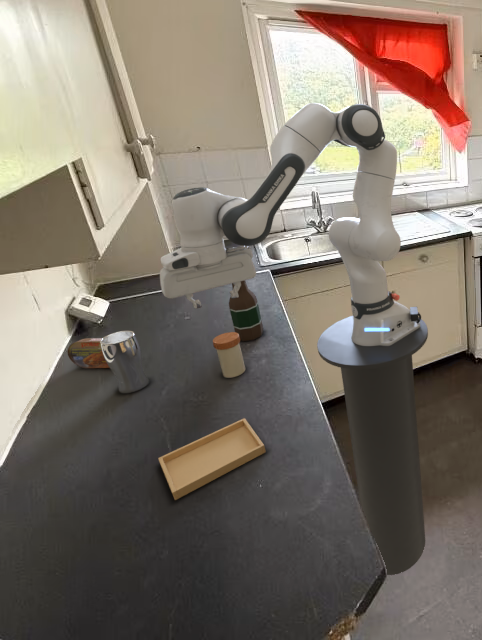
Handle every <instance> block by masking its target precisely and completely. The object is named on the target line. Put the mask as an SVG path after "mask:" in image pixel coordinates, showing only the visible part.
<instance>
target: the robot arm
mask: <svg viewBox="0 0 482 640" xmlns="http://www.w3.org/2000/svg"><path fill="white" fill-rule="evenodd" d="M332 142H335V143H338V144H340V145H341V146H345V147H348V148H356V150H357V152H358V161H359V162H358V164H357V169H356V170H357V171H356V176H355V179H354V180H355V181H354V186H353V191H352V199H353V201H354V203H355V205H356V206H357V209H358V214H359V215H358V216H359V218H357V217H339V218H338V219H336V220H334V221H333V222H332V223H331V225H330V227H329V229H328V238H329V241H330V243H331V244H332V245H333V247H334V248H335V249H336V250H337V252H338V254H339V256H340V258H341V260H342V262H343V264H344V268H345V269H346V273H347V276H348V280H349V287H350V295H351V296H350V307H351V313H352V316H353V318H354V320H353V332H352V337H351V339H352V341H353V342H354V343H356V344H358V345H361V346H378V345H381V346H390V345H392V344H394V343H395V342H397V341H399V340H400V339H402V338H403V337H405V336H407V335H408V334H410V333H412V332H413V331H415V330H416V329H418V328H419V327H420V320H421V319H422V315H421V313H420V312H419V311H418V306H410V307H409V308H408V307H407V306H406V305H404V304H402V303H400V302H398V301H399V300H400V298H401V297H400V295H399V294H397V293H393V292H391V291H389V287H388V278H387V271H386V270H385V268H384V267H383V266H382V265H381V263H380V262H389V261H392V260H393V259H394V258H395V257H397V255H398V254H399V252H400V249H401V247H402V245H401V244H402V241H401V237H400V235H399V233H398V232H397V230H396V228H395V226H394V222H393V217H392V198H393V193H394V187H395V180H396V176H397V167H398V149H397V147H396V146H395V145H394V143H392V142H391V141H389V140H387V139H386V134H385V131H384V127H383V123H382V119H381V117H380V115H379V113H378V112H377V111H376V110H375V109H374V108H373V107H371V106H369V105H367V104H363V103H355V104H351V105H349V106H346V107H344V108H342V109H341V110H339V111H336V112H335V111H331V110H330V109H329V108H328V107H327V106H325V105H324V104H321V103H318V102H309V103H307V104H305V105H304V106H303V107H301V108H300V109H299V110H297V111H296V112H295V113H294V114H293V115H292V116H291V117H290V118H289V119H288V120H287V121H286V122H285V124H284V125H282V127H280V129H279V130H278V132H277V133H276V134H275V136H274V138H273V140H272V142H271V144H270V146H269V152H270V156H271V166H270V169H269V171H268V173H267V175H266V176H265V178H264V179H263V180H262V182H261V183H260V184H259V186H258V187H257V188H256V189H255V191H254V192H253V194H252V195H251V196H250V197H249V198H248V199H247V198H244V197H240V196H234V195H233V196H232V195H226V194H223V193H219V192H216V191H213V190H212V189H209V188H207V187H204V186H203V187H202V186H200V187H193V188H188V189H184V190H181V191H179V192H177V193H176V194H175V195H174V196H173V197H172V200H171V210H172V216H173V221H174V226H175V229H176V230H177V232H178V234H179V237H180V240H179V245H180V248H177V249H175V250H173V251H171V252H169V253H166V254H164V255H163V256H161V257H160V259H159V260H160V264H161V266H162V268H161V269H160V270H159V284H160V289H161V293H162V295H163V296H164V297H165V298H167V299H169V300H172V299H176V298H181V297H185V298H186V299H187V300H188V301H189V302H191V304H192V307H193V309H194V310H197V309H201V308H203V307H202V302H201V300H200V299H198V298H197V299H194V294H195V293H199V292H200V293H201V292H204V291H207V290H212V289H216V288H220V287H224V286H228V285H232V283H233V284H234V285H235V286H234V288H232V290H229V294H230V297H231V298H232V299H234V298H237V297H239V295H238V291H239V289H240V286H241V282H240V281H244V280H245V281H247V280H251V279H255V277H256V276H257V270H256V267H255V264H254V261H253V257H254V255H253V250H252V249H251V247H252V246H255V245H259V244H260V243H262V242H263V241H264V240H266V238H268V236H269V235H270V233H271V230H272V226H273V222H274V218H275V216H276V214H277V212H278V210H280V208H281V206H282V205H283V204H284V202H285V201H286V200H287V198H288V197H289V195H290V194H291V192H292V191H293V189H294V188H295V187H296V185H297V183H298V182H299V181H300V179H301V178H302V177H303V175H305V173H306V171H307V170H308V169H309V168H310V167H311V166H312V165H313V163H315V162H316V160H317V159H318V158H319V157H320V156H321V154H322V153H323V152H324V150H325V148H326V147H328V145H329V144H330V143H332ZM224 237H225V238H226V239H227V240H228V241H230V242H231V243H233V244H235V245H237V246H235V247H228V248H226V245H225V241H224ZM418 317H419V319H418Z"/></svg>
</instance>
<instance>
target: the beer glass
mask: <svg viewBox="0 0 482 640" xmlns="http://www.w3.org/2000/svg"><path fill="white" fill-rule="evenodd" d="M101 338H102V339H101V340H100V344H101V348H102V352H103V355H104V358H105V360H106V362H107V364H108V366H109V367H110V368H109V369H110V371H111V372H112V373H113V374H114V376H115V378H116V379H117V386H118V391H119V393H121V394H131V393H135V392H138V391H140V390H142V389H144V388H145V387H147V386H148V385H149V384H150V380H149V378H148V376H147V375H146V374H145V371H144V368H143V366H144V365H143V355H142V349H141V345H140V343H139V341H138V338H137V336H136V334H135V331H133V330H121V331H116V332H112V333H110V334H108V335H105V336H103V337H101Z"/></svg>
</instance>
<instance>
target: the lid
mask: <svg viewBox="0 0 482 640" xmlns="http://www.w3.org/2000/svg"><path fill="white" fill-rule="evenodd" d="M240 342H241V340H240V336H239V334H238V333H236V332H235V331H231V332H230V331H229V332H228V331H227V332H224V333H221V334H218V335H217V336H215V337H214V338H213V339H212V345H213V347H214V349H215V350H216V349H218V350H224V349H229V348H232V347H234V346H236V345H238V344H239V343H240ZM240 344H241V343H240Z"/></svg>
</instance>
